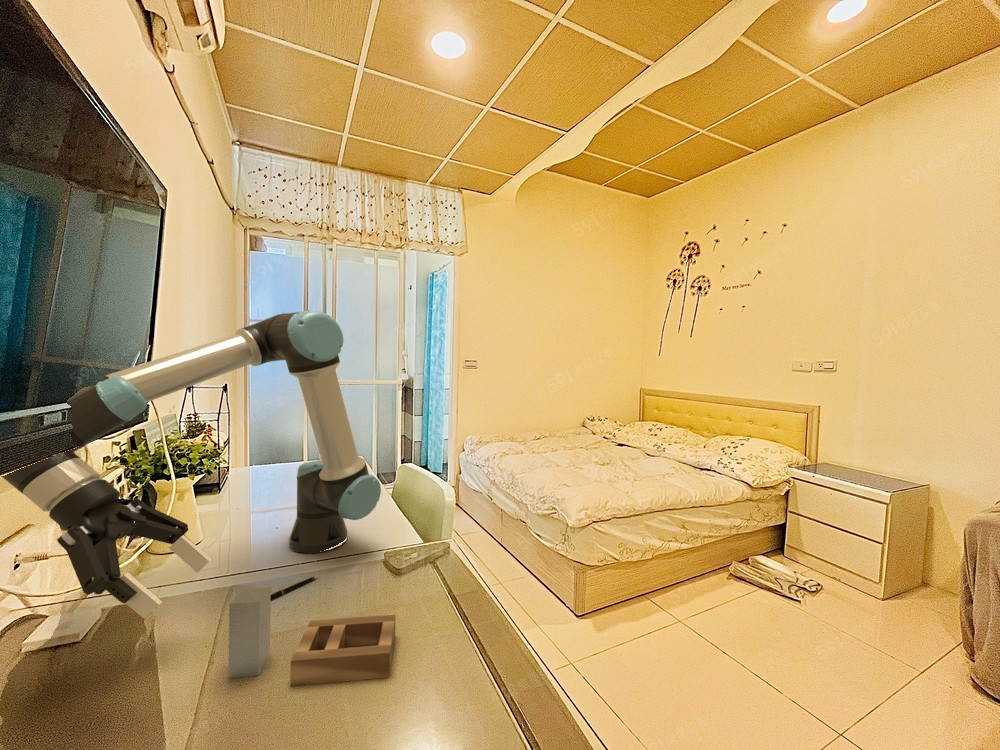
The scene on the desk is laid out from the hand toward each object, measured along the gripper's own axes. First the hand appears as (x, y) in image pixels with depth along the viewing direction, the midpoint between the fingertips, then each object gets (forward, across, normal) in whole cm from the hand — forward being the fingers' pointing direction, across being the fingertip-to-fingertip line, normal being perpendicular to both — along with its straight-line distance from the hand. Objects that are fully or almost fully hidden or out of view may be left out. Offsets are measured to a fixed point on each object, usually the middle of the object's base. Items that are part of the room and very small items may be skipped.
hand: (181, 586), depth 67 cm
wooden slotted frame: (+28, 0, +8) cm, 29 cm away
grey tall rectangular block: (+17, 0, -3) cm, 18 cm away
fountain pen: (+17, -24, -4) cm, 30 cm away
